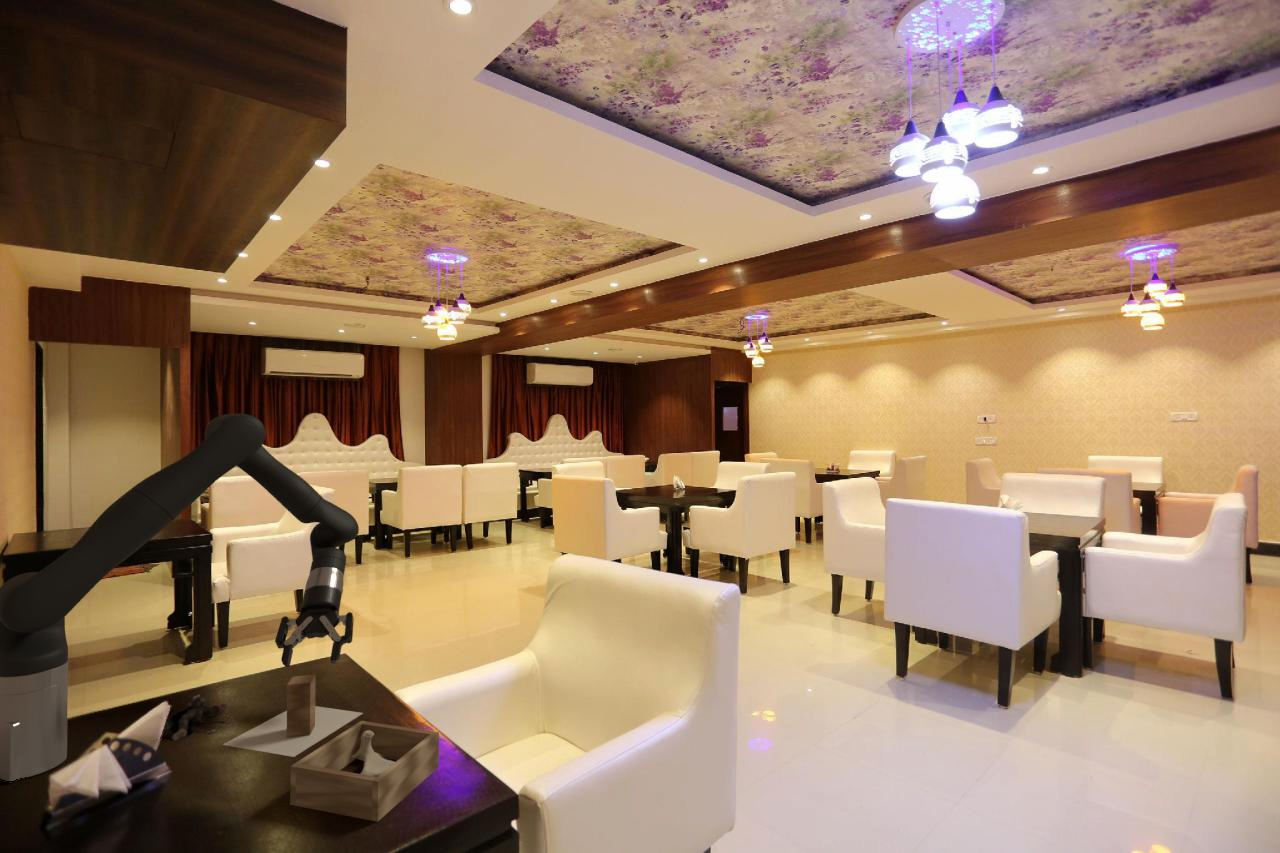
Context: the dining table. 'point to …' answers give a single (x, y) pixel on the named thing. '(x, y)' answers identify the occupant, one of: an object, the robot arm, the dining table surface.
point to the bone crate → (358, 793)
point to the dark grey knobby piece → (192, 718)
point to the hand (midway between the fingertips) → (310, 663)
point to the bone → (371, 757)
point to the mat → (275, 737)
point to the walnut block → (300, 706)
